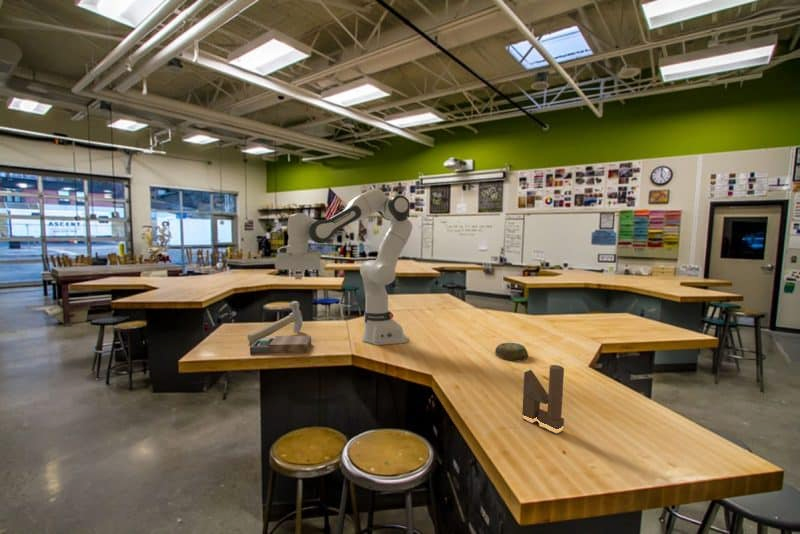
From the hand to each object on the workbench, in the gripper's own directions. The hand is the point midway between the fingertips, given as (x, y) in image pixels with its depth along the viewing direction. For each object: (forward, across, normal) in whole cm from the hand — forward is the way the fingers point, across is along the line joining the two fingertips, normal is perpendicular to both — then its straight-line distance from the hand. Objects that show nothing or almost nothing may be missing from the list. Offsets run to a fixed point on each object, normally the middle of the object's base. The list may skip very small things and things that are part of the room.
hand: (298, 279), depth 171 cm
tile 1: (+29, +15, +4) cm, 33 cm away
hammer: (+32, +14, -14) cm, 37 cm away
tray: (+31, +15, +4) cm, 35 cm away
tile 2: (+29, +14, +4) cm, 32 cm away
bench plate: (+31, +3, +4) cm, 32 cm away
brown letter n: (+31, -81, +76) cm, 115 cm away
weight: (+32, -94, +19) cm, 101 cm away
